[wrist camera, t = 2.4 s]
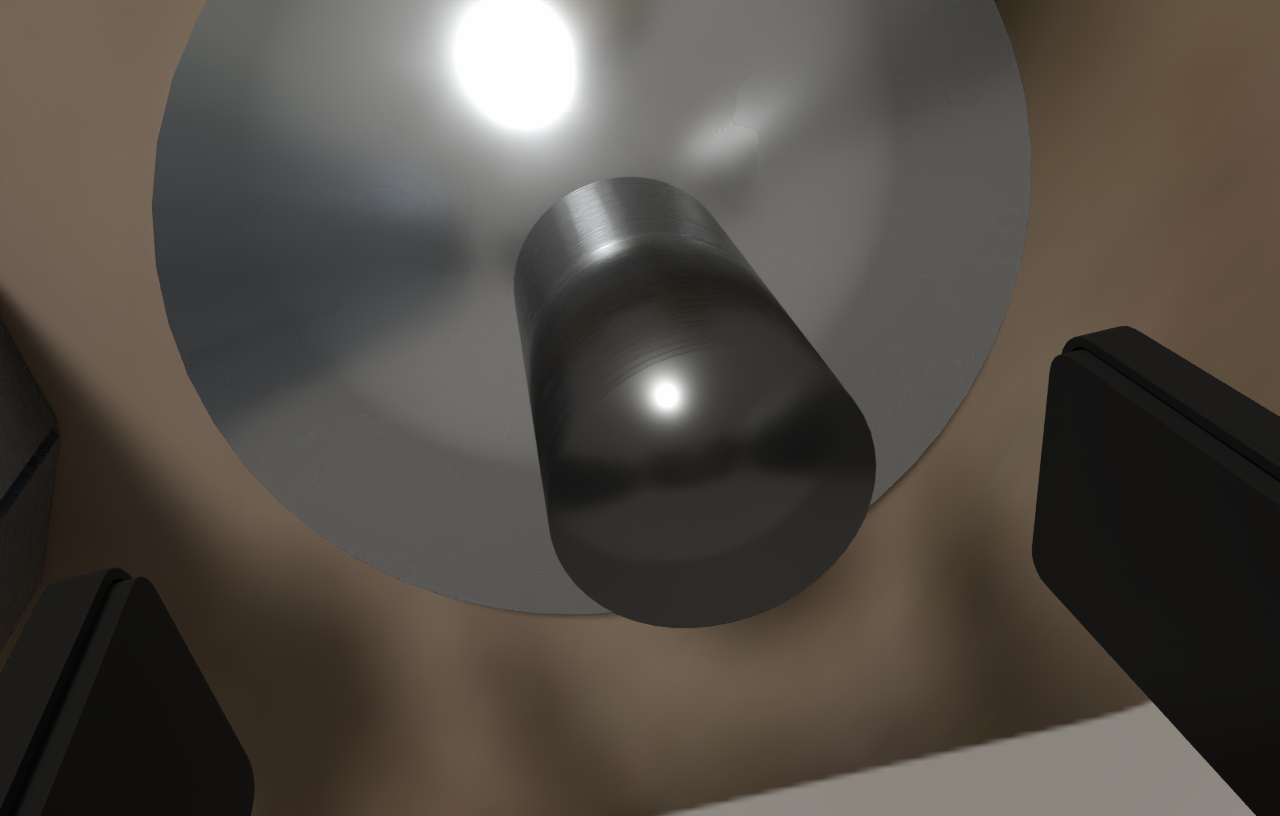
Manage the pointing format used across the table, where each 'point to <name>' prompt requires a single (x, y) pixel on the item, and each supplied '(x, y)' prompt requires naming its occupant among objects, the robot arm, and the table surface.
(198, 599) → the table surface
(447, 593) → the lid
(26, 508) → the pot
